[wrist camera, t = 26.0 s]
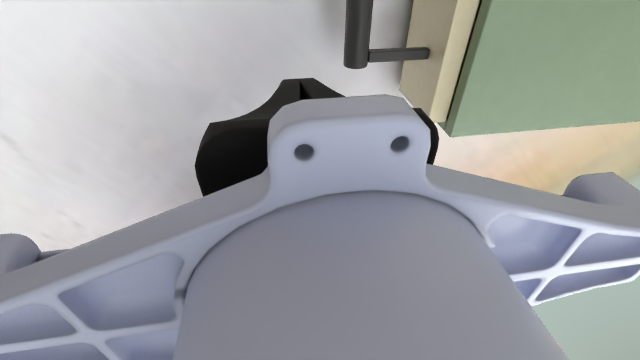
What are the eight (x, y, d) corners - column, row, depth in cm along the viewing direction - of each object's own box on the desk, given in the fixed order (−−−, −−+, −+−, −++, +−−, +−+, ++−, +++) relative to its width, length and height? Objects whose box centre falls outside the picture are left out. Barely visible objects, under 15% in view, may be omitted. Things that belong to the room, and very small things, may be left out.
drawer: (332, 94, 23) (347, 129, 19) (338, -149, 15) (366, -180, 11) (553, 79, 25) (611, 109, 21) (661, -142, 17) (788, -165, 13)
